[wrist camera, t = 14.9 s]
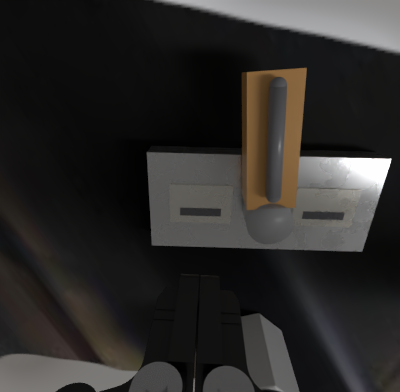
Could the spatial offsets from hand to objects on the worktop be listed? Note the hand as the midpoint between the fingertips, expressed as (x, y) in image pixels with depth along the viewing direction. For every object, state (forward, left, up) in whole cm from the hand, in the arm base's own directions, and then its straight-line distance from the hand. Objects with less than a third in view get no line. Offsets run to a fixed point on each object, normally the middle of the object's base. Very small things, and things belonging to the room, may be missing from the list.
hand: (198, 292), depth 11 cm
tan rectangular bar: (-6, -1, -15) cm, 16 cm away
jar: (-7, +25, -19) cm, 32 cm away
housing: (-6, +4, -18) cm, 20 cm away
